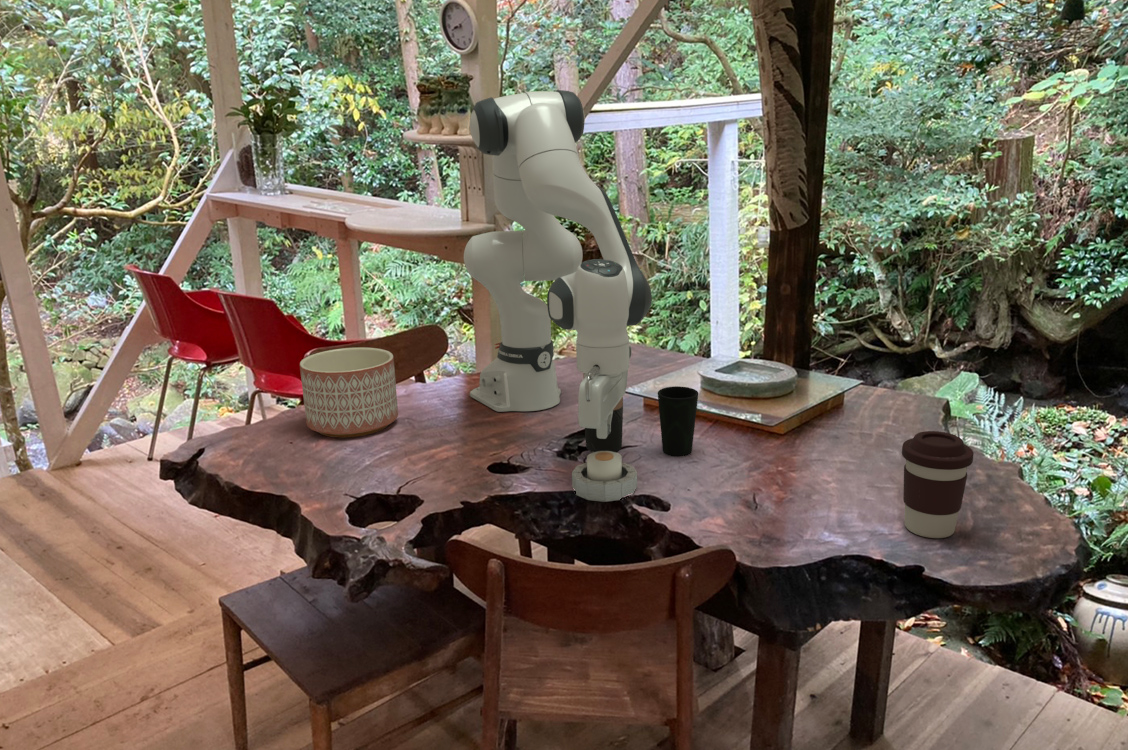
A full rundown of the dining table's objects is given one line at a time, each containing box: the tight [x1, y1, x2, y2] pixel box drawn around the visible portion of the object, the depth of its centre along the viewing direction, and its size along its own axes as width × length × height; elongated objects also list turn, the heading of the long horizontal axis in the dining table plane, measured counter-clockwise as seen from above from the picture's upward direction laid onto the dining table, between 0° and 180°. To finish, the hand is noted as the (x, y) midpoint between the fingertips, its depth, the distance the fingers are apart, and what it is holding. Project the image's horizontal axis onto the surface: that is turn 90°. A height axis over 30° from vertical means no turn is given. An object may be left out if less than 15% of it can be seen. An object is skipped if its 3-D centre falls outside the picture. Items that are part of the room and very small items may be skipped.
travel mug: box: [582, 372, 624, 453], centre depth 170 cm, size 8×8×20 cm
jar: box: [586, 451, 623, 482], centre depth 152 cm, size 6×6×5 cm
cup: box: [657, 385, 699, 458], centre depth 167 cm, size 8×8×12 cm
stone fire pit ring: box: [571, 461, 638, 503], centre depth 153 cm, size 11×11×3 cm
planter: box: [299, 346, 399, 439], centre depth 186 cm, size 19×19×15 cm
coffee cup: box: [901, 430, 975, 539], centre depth 134 cm, size 10×10×15 cm
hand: (603, 435), depth 150 cm, fingers closed
